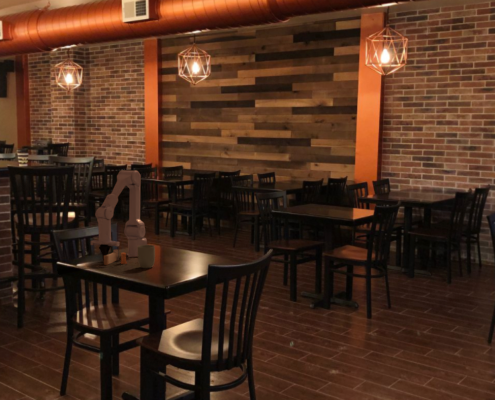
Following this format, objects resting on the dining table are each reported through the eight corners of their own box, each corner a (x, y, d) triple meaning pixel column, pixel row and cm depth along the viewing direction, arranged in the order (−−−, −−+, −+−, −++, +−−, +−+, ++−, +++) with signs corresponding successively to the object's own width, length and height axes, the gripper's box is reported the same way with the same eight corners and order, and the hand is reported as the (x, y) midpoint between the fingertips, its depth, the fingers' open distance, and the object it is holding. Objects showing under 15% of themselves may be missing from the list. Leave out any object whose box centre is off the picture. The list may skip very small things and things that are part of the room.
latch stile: (125, 262, 284) (125, 252, 283) (127, 263, 281) (126, 253, 281) (120, 262, 283) (120, 252, 283) (121, 264, 280) (121, 253, 280)
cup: (158, 266, 274) (157, 245, 273) (150, 269, 266) (149, 247, 266) (143, 265, 276) (142, 244, 275) (134, 268, 269) (134, 247, 268)
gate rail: (113, 260, 290) (113, 251, 289) (116, 260, 289) (116, 252, 289) (103, 264, 279) (103, 255, 278) (107, 264, 278) (107, 256, 278)
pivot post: (118, 259, 293) (118, 249, 292) (119, 260, 290) (119, 250, 290) (112, 259, 292) (112, 249, 291) (113, 260, 289) (113, 250, 289)
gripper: (86, 232, 279) (87, 261, 281) (113, 234, 275) (114, 262, 276) (95, 230, 286) (95, 258, 287) (121, 232, 281) (122, 260, 283)
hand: (105, 260), depth 282 cm, fingers closed, pressing on gate rail
